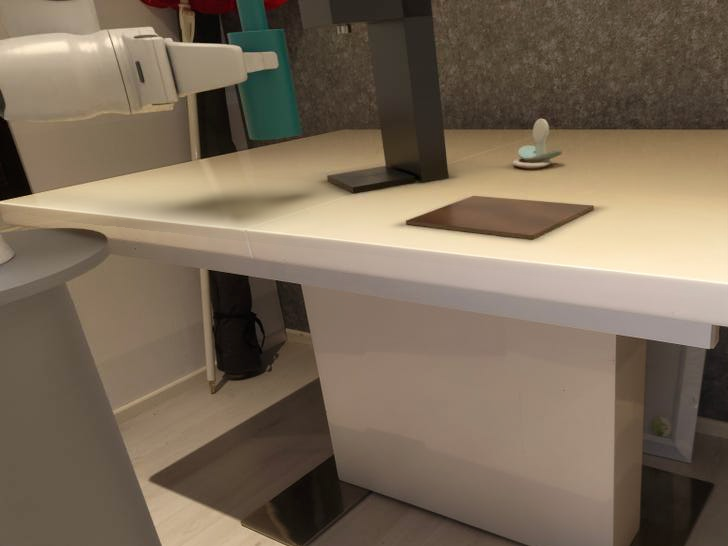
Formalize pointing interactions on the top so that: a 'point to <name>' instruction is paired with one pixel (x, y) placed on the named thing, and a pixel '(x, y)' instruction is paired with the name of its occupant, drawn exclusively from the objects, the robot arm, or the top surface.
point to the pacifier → (537, 148)
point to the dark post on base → (394, 86)
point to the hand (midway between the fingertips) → (268, 59)
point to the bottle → (266, 78)
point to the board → (502, 216)
